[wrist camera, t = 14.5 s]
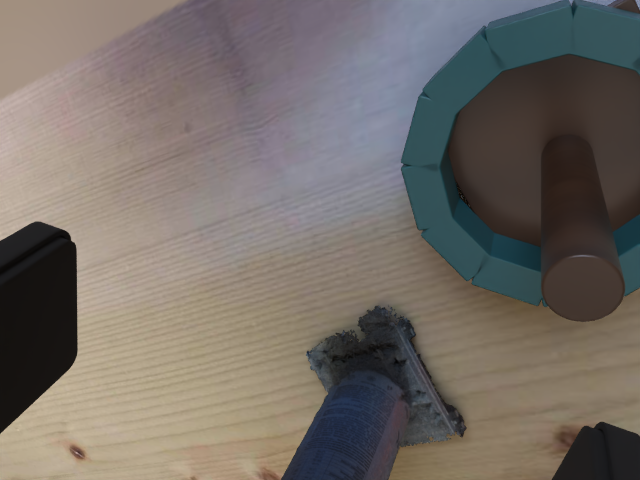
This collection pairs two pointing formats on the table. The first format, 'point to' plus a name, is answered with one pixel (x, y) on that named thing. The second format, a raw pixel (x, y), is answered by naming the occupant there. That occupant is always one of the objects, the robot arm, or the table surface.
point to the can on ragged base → (370, 404)
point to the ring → (463, 86)
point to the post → (557, 171)
